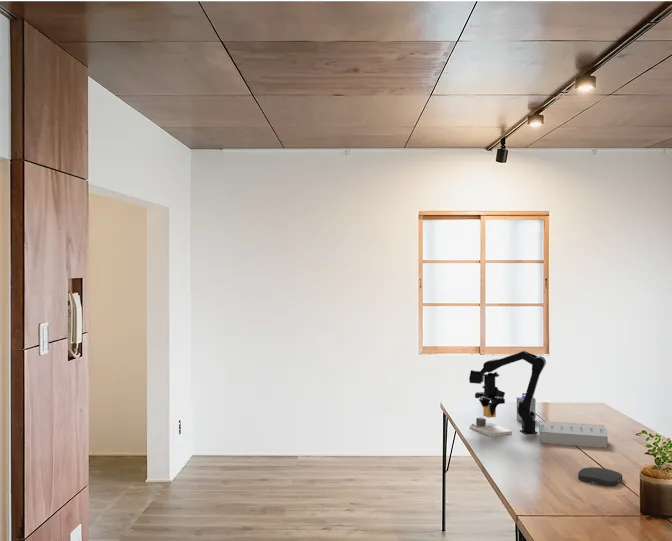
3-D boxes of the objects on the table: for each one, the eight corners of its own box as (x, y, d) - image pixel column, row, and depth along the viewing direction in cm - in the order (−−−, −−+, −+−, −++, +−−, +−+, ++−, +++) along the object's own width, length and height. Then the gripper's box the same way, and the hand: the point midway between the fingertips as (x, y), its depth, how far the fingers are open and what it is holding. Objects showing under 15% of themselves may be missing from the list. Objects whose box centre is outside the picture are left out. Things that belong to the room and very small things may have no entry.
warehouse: (539, 443, 305) (540, 427, 305) (539, 436, 318) (539, 420, 318) (607, 448, 296) (607, 432, 296) (603, 440, 310) (603, 425, 310)
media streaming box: (587, 471, 262) (587, 464, 262) (624, 479, 253) (624, 471, 253) (575, 480, 251) (575, 473, 251) (614, 488, 242) (614, 481, 242)
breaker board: (512, 434, 320) (512, 429, 320) (490, 436, 315) (490, 432, 315) (490, 425, 337) (490, 421, 337) (469, 427, 332) (469, 423, 332)
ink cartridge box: (534, 419, 352) (534, 393, 352) (536, 421, 347) (536, 395, 347) (516, 418, 354) (516, 392, 354) (517, 420, 348) (517, 394, 348)
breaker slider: (485, 425, 330) (485, 419, 330) (480, 426, 328) (480, 419, 328) (481, 424, 333) (481, 417, 333) (476, 424, 332) (476, 418, 332)
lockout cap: (495, 416, 332) (495, 407, 332) (488, 417, 330) (488, 408, 330) (490, 415, 336) (490, 405, 336) (483, 415, 334) (483, 406, 334)
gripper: (513, 386, 327) (513, 416, 327) (491, 380, 344) (491, 409, 344) (495, 388, 323) (495, 418, 323) (474, 382, 340) (474, 411, 340)
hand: (489, 414), depth 333 cm, fingers closed on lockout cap, 4 cm apart
